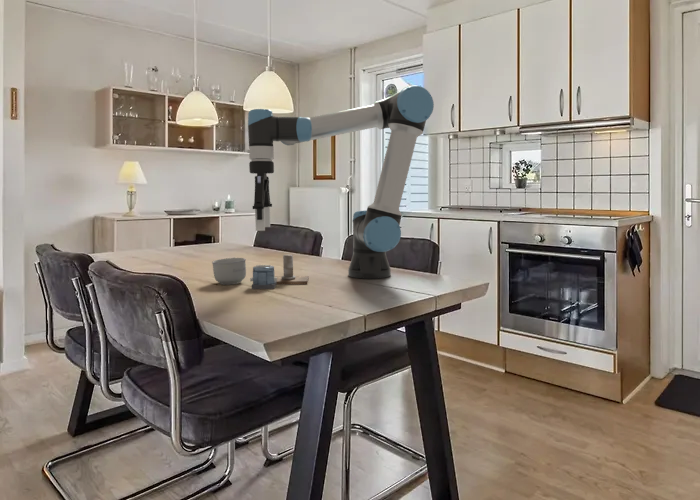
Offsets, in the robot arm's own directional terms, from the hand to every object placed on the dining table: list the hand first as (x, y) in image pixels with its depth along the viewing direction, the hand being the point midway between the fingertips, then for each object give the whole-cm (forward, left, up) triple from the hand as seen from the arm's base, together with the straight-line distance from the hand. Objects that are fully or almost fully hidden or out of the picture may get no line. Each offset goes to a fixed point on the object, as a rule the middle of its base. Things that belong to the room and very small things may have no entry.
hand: (263, 228), depth 169 cm
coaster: (0, 0, -19) cm, 19 cm away
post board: (-7, -8, -19) cm, 22 cm away
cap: (0, 0, -17) cm, 17 cm away
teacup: (+12, -8, -19) cm, 24 cm away
